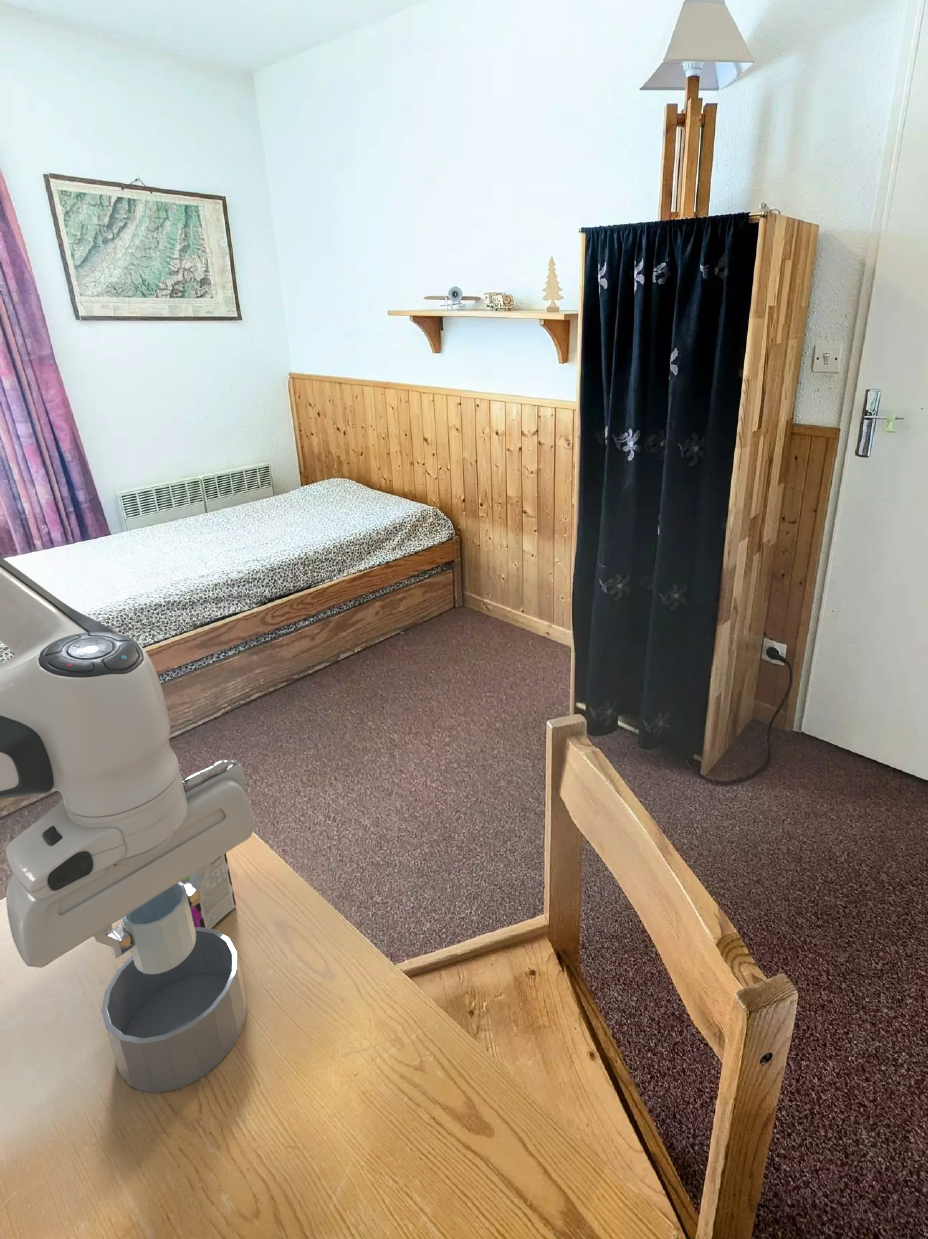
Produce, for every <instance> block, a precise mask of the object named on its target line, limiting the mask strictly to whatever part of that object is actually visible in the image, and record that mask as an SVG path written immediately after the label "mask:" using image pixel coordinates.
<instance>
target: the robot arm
mask: <svg viewBox="0 0 928 1239" xmlns="http://www.w3.org/2000/svg"><path fill="white" fill-rule="evenodd" d="M0 642H1V643H2V644H3V645H5V646H6V647H8V648H9V649H10V650H11V651H12V652H13V653H14V655H13V656H11V657H10V658H8V659H7V660H5V661H3V662H2V663H1V664H0V799H16V798H17V799H19V798H27V797H28V798H29V797H36V796H41V795H44V794H48V793H49V792H50V791H57V792H58V793H60V794H61V797H62V799H61V801H59V802H58V803H57V804H56V805H55V806H54V807H53V808H51V810H49V811H48V812H47V813H45V814H44V815H43V816H42V817H40V818H39V819H38V820H37V821H36V822H34V823H33V824H32V825H30V826H29V827H28V828H27V829H25V830H23V831H22V832H21V833H20V834H18V835H17V836H16V837H14V838H13V839H12V840H11V841H10V842H9V843H8V844H7V845H6V849H5V855H6V860H7V862H8V865H9V867H10V870H11V873H12V874H13V875H12V876H11V877H10V880H9V882H8V885H7V888H6V895H5V897H6V898H5V900H6V911H7V919H8V924H9V929H10V933H11V937H12V940H13V943H14V945H15V947H16V948H15V949H16V950H17V952H18V954H19V956H20V957H21V959H22V961H23V962H24V964H25V965H26V966H27V967H32V968H44V967H46V966H49V964H51V963H53V962H55V961H56V960H57V959H59V958H60V957H62V956H63V955H65V954H67V953H68V952H70V951H71V950H73V949H75V948H76V947H78V946H79V945H81V944H83V943H84V942H86V941H87V940H89V939H91V938H92V937H93V939H94V940H95V942H96V943H99V944H102V945H105V946H108V948H109V951H110V953H111V954H112V955H113V956H114V958H115V959H118V958H120V957H121V956H122V955H124V954H125V953H127V952H128V951H131V948H133V944H132V943H131V937H130V934H129V933H128V932H127V931H125V927H124V924H120V925H118V926H116V927H115V928H113V924H115V923H116V922H119V920H122V918H123V917H124V916H126V915H127V914H129V913H131V912H132V911H134V910H135V909H137V908H139V907H140V906H142V905H143V904H145V903H147V902H148V901H150V900H151V899H153V898H155V897H156V896H158V895H159V894H161V893H163V892H164V891H166V890H167V889H169V888H171V887H172V886H174V885H175V884H177V883H179V882H180V881H182V880H183V879H185V878H187V877H188V876H190V878H189V881H188V883H186V884H185V885H184V886H185V889H186V892H187V896H188V901H189V905H190V909H191V908H193V907H194V906H196V905H198V904H199V903H201V902H202V901H204V900H205V899H206V897H205V892H204V888H203V887H205V884H206V882H207V880H208V877H209V875H210V872H211V870H212V865H211V862H212V861H214V860H215V859H217V858H219V857H220V856H222V855H223V854H225V853H226V854H227V853H229V852H230V851H231V850H233V849H235V848H236V847H238V846H239V845H241V844H243V843H244V842H246V841H248V840H249V839H250V838H251V837H252V834H253V832H254V830H255V828H256V819H255V816H254V813H253V809H252V805H251V803H250V801H249V798H248V796H247V794H246V792H245V790H244V788H245V785H246V774H245V769H244V766H243V764H242V763H241V762H240V761H238V760H235V759H230V760H226V759H224V758H223V759H220V760H217V761H216V762H213V763H212V764H211V765H209V766H208V767H207V768H206V767H205V768H204V769H202V770H199V771H197V772H194V773H192V774H190V775H188V776H186V777H185V778H182V777H183V776H182V771H181V767H180V761H179V758H178V756H177V755H176V753H175V751H174V750H173V748H172V747H171V744H170V743H171V742H170V734H171V719H170V716H169V711H168V706H167V701H166V698H165V694H164V691H163V690H164V689H163V687H162V683H161V681H160V676H159V675H158V673H157V670H156V667H155V665H154V662H153V660H152V659H151V657H150V655H149V654H148V653H147V652H146V650H145V649H144V648H143V646H142V645H141V644H140V643H139V642H138V641H136V639H134V638H132V637H130V636H127V635H124V634H120V633H118V632H117V631H115V630H114V629H112V628H111V627H109V626H107V625H105V624H104V623H102V622H100V621H98V620H96V619H93V618H91V617H89V616H87V615H85V614H84V613H81V612H80V611H78V610H76V609H75V608H73V607H70V605H68V604H66V603H65V602H63V601H61V600H60V599H59V598H58V597H56V596H55V595H54V594H52V593H51V592H49V591H48V590H47V589H45V588H44V587H43V586H41V585H40V584H38V583H37V582H36V581H34V580H33V579H31V578H30V577H29V576H28V575H26V574H25V573H23V572H22V571H21V570H20V569H18V568H17V567H15V566H14V565H13V564H11V563H10V562H8V561H7V560H6V559H4V558H3V557H2V556H0Z"/></svg>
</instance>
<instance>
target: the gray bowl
mask: <svg viewBox="0 0 928 1239" xmlns="http://www.w3.org/2000/svg"><path fill="white" fill-rule="evenodd" d="M195 932H196V942H195V946H194V948H193V950H192V951H191V953H190V954H189V956H188V957H187V958H186V959H185V960H184V961H183V962H181V963H180V964H179V965H177V966H176V967H174V968H172V969H170V970H168V971H166V972H163V973H159V974H145V973H143V972H141V971H139V970H138V969H137V968H136V966H135V964H134V960H133V957H132V955H131V956H130V957H129V958H128V959H127V960H126V961H125V962H124V963H123V964H122V965H121V966H120V967H119V968H118V969H117V971H116V972H115V974H114V975H113V977H112V979H111V981H110V982H109V984H108V986H107V987H106V989H105V992H104V996H103V1001H102V1006H101V1010H100V1011H101V1015H102V1018H103V1023H104V1027H105V1029H106V1033H107V1037H108V1039H109V1043H110V1046H111V1049H112V1053H113V1056H114V1059H115V1064H116V1066H117V1070H118V1072H119V1075H120V1076H121V1078H122V1079H123V1080H124V1082H125V1083H126V1084H128V1086H130V1087H132V1088H133V1089H135V1090H137V1091H140V1092H144V1093H151V1094H159V1093H160V1094H162V1093H166V1092H173V1091H175V1090H179V1089H181V1088H184V1087H186V1086H189V1085H191V1084H193V1083H194V1082H196V1081H198V1080H199V1079H201V1078H203V1077H204V1076H206V1075H207V1074H208V1073H210V1072H211V1071H212V1070H213V1069H214V1068H216V1067H217V1066H218V1065H219V1064H220V1063H221V1062H222V1061H223V1060H224V1058H225V1057H226V1056H227V1055H228V1054H229V1053H230V1051H231V1050H232V1049H233V1047H234V1046H235V1045H236V1042H237V1041H238V1039H239V1038H240V1036H241V1032H242V1031H243V1027H244V1024H245V1020H246V1016H247V999H246V998H247V997H246V995H247V994H246V991H245V990H246V989H245V986H244V981H243V980H244V979H243V976H242V970H241V964H240V959H239V954H238V951H237V949H236V947H235V946H234V943H233V941H232V939H231V938H230V937H229V936H227V935H226V934H224V933H222V932H221V931H220V930H218V929H215V928H212V929H209V928H203V927H195Z"/></svg>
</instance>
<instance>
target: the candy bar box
mask: <svg viewBox="0 0 928 1239" xmlns="http://www.w3.org/2000/svg"><path fill="white" fill-rule="evenodd" d="M211 865H212V870H211V872H210V875H209V877H208V880H207V882H206V884H205V887H203V888H204V892H205V897H206V899H205V900H204V901H202V902H201V903H199V904H198V905H196V906H194V907H193V908H191V914H192V918H193V923H194V927H203V928H209V929H214V928H215V927H216V926H217V925H218V924H219V923H220V922H221V921H222V920H223V919H224V918H225V917H226V916H227V915H229V914H230V913H231V912H232V911H233V910H234V909H235V908H236V907H237V902H236V898H235V892H234V887H233V883H232V882H233V881H232V877H231V873H230V867H229V866H230V865H229V862H228V857H227V853H225V854H223V855H222V856H220V857H219V858H217V859H215V860H214V861H212V862H211ZM189 878H190V876H188V877H187V878H185V879H183V880H182V881H180V882H182V883H183V884H184V885H185V884H186V883H188V881H189Z"/></svg>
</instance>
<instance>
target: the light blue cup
mask: <svg viewBox="0 0 928 1239" xmlns="http://www.w3.org/2000/svg"><path fill="white" fill-rule="evenodd" d="M121 920H122V923H123V924H122V925H123V927H124V928H125V931H127V932H128V933H129V934H130V937H131V943H132V944H133V948H131V949H130V952H131V956H132V957H133V960H134V964H135V966H136V968H137V969H138V970H139V971H141V972H143V973H145V974H159V973H163V972H166V971H168V970H170V969H172V968H174V967H176V966H177V965H179V964H180V963H181V962H183V961H184V960H185V959H186V958H187V957H188V956H189V954H190V953H191V951H192V950H193V948H194V946H195V942H196V932H195V927H194V923H193V918H192V914H191V909H190V905H189V901H188V896H187V892H186V889H185V886H184V884H183V883H182V882H179V883H177V884H175V885H174V886H172V887H171V888H169V889H167V890H166V891H164V892H163V893H161V894H159V895H158V896H156V897H155V898H153V899H151V900H150V901H148V902H147V903H145V904H143V905H142V906H140V907H139V908H137V909H135V910H134V911H132V912H131V913H129V914H127V915H126V916H124V917H123V918H121Z"/></svg>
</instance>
